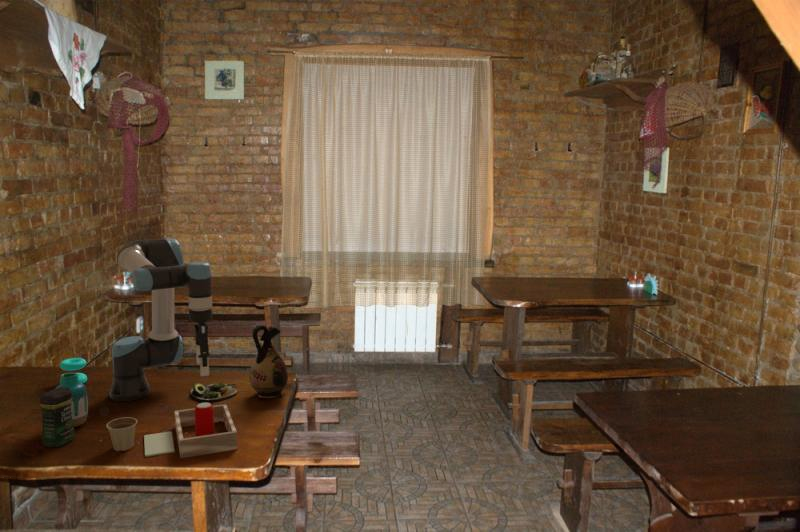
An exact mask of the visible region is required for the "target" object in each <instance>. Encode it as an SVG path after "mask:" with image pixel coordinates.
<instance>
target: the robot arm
mask: <svg viewBox="0 0 800 532" xmlns="http://www.w3.org/2000/svg"><path fill="white" fill-rule="evenodd" d="M116 262H117V264H118V266H119V267H120V269H122V270H123V271H125V272H128V273H130V275H132V277H131V278H132V285H133V288H134V290H135V291H137V292H149V291H151V321H152V322H151V327H152V328H151V331H150V332H148V335H147V337H148V338H145V339H144V338H143V337H142V336H140V335H135V336H134V335H133V336H128V337H123V338H121V339H118V340H116V341H115V342H113V344H112V346H111V347H112V348H111V357H112V358H111V359H112V374H113V377H112V378H113V379H112V383H111V386H110V389H109V398H110V399H111V400H112V401H114V402H115V401H116V402H131V401H137V400H140V399H143V398H146V397H148V396H149V395H150V393H151V386H150V384H149V382H148V379H147V376H146V373H145V369H147V368H153V367H161V366H166V365H167V366H168V365H171V364H176V363H179V361H180V360H181V359H182V357H183V352H184V345H183V344H184V340H183V338H182V336H181V335H180V334H179V332H178V331H177V330H176V329H175V289H178V288H187V298H188V299H186V303H188V308H189V310H188V319H189V321H190V322H192V323H194V333H195V334H194V335H195V338H194V340H195V341H194V342H195V353H196V354H195V355H196V356H195V357H196V365H199V368H200V369H199V370H200V372H199V374H200V377H207V376H210V359H209V357H210V352H209V351H210V350H209V337H208V336H209V328H208V324H207V323H206V322H209V321H211V320H213V309H212V307H213V295H212V269H211V264H210V263H209V262H206V261H194V262H190V263H188V262H187V263H184V255H183V250H182V246H181V245H180V243H179V241H178V240H177V239H176V238H166V237H165V238H151V239H149V238H148V239H135V240H132V241H129V242H127V243H126V244H124V245H123V246H122V247H120V249H119V250H118V251H117V254H116Z"/></svg>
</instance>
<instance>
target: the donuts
mask: <svg viewBox="0 0 800 532" xmlns="http://www.w3.org/2000/svg"><path fill="white" fill-rule="evenodd" d="M86 365H87V361H86V360H85V359H84V358H82V357H72V358H66V359H64V360H62V361H60V363H59V367H60V369H61V370H63V371H66V372H73V371H74V372H75V371H77V370H81V369H83V368H85V367H86ZM76 373H77V375H78V381H79V382H80V383H83V384H84V383H86V382H87V381H88V377H87V375H86V374H85V373H82V372H76Z"/></svg>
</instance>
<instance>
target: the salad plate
mask: <svg viewBox="0 0 800 532" xmlns="http://www.w3.org/2000/svg"><path fill="white" fill-rule="evenodd" d="M236 385H237V383H227V382H224V383H223V382H214V383H212V384H209V385H204V384H203V383H198V382H197V383H195V384H194V386H193V387H190V389H191V390H190V391H189V392H190V393H189V394H190V396H191V397H192V398H193V399H194V398H195V399H194V400H196V401H197V400H198V402H200V401H202V402H201V403H205V402H206V403H213V401H215V402H219V401H222V400H225V399H227V398H230V396H231V397H232V396H234V395H236V394H237V393H238V390H237V389H235V388H234V386H236ZM225 392H227V395H226V396H222V395H223V394H222V393H224V394H226V393H225ZM229 393H230V394H229ZM221 399H222V400H221Z"/></svg>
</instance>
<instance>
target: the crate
mask: <svg viewBox="0 0 800 532" xmlns="http://www.w3.org/2000/svg"><path fill="white" fill-rule="evenodd" d="M212 406H213V409H214V423H220V422H219V421H221V422H223V423H225V424H224V426H225V429H226V431H227V432H220V433H219V432H218V433H214V434H212V435H205V436H198V437H196V436H193V437H186V438H184V435H183V428H185V427H192V426H195V408H196V407H195V408H194V407H193V408H187V409H180V410H174V425H175V426H174V427H175V433H176V438H177V439H176V440H177V446H178V451H179V457H180V459H184V458H190V457H196V456H204V455H209V454H216V453H222V452H227V451H229V452H230V451H235V450H238V431H237V429H236V427H235V424H234V421H233V419H232V416H231V413H230V411H229V408H228V406H227V404H225V403H224V404H218V405H217V404H215V405H212Z"/></svg>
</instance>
